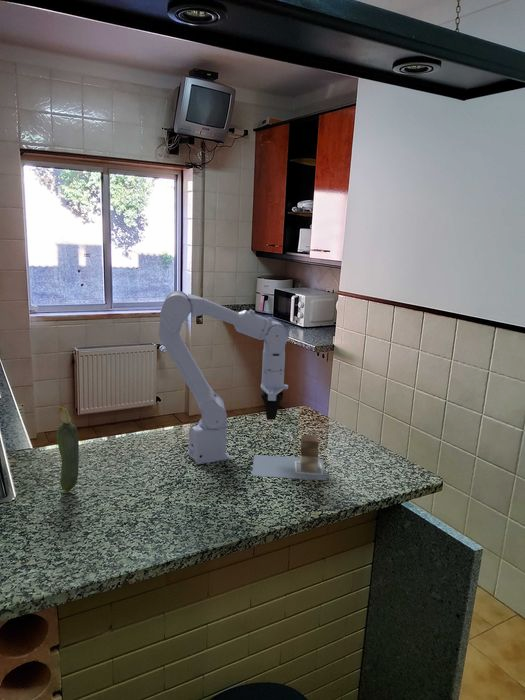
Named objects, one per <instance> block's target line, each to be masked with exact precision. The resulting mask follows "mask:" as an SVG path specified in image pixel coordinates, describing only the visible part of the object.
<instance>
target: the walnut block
mask: <svg viewBox="0 0 525 700" xmlns="http://www.w3.org/2000/svg"><path fill="white" fill-rule="evenodd" d="M300 437H301V439H300V457H301V456H308V457H318V458H319V443H320V441H319V437H318V435H313V434H301V436H300Z"/></svg>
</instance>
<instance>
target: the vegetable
mask: <svg viewBox="0 0 525 700" xmlns="http://www.w3.org/2000/svg"><path fill="white" fill-rule="evenodd" d="M56 412H57V415H59V414H60V419H61V424H60V425H58V427H57V429H56V441H57V447H58V450H59V455H60V459H61V466H60V467H61V469H60V481H59V482H60V487H61V490H62V491H63V493H64V494H67V493H70V492H71V491H72V489H74V487H75V486H76V485H77V482H78V476H79V463H80V462H79V461H80V455H79V454H80V452H79V449H80V448H79V446H80V445H79V442H80V441H79V432H78V431H79V430H78V429H77V427H76V425H75V424H74V423H72V417H71V416H70V413H69V411H68V410H67V408H66V407H63V406H59V407H58V408H57V409H56Z"/></svg>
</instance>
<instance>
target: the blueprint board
mask: <svg viewBox="0 0 525 700" xmlns="http://www.w3.org/2000/svg"><path fill="white" fill-rule="evenodd" d="M300 462H301V457H297V456H284V455H283V456H282V455H281V456H280V455H279V456H278V455H265V454H264V455H263V454H254V455H253V462H252V463H253V464H252V471H251V476H253V477H264V478H265V477H266V478H268V477H269V478H280V479H281V478H282V479H284V478H285V479H287V478H288V479H301V480H315V481H316V480H318V481H327V475H326V470H325V466H324V465H325V464H324V460H323V458H318V468H317V472H307V471H301V466H300Z"/></svg>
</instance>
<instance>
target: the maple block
mask: <svg viewBox="0 0 525 700" xmlns="http://www.w3.org/2000/svg"><path fill="white" fill-rule="evenodd" d="M300 458H301V462H300V466H301V471H307V472H317V468H318V459H319V456H318V457H308V456H301V455H300Z"/></svg>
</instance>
